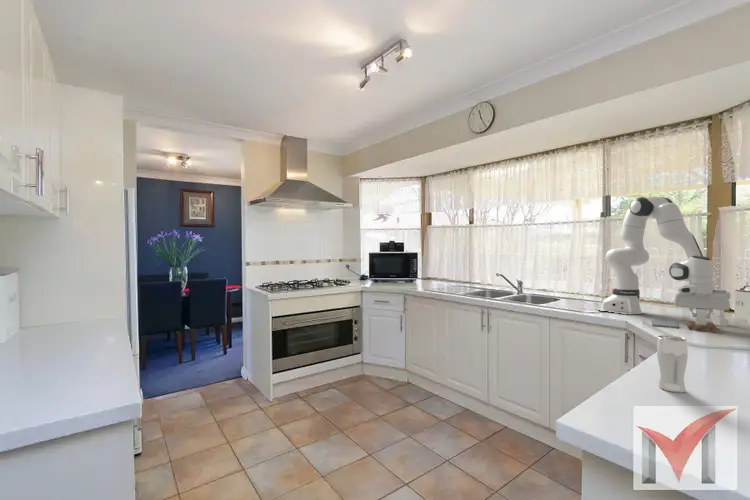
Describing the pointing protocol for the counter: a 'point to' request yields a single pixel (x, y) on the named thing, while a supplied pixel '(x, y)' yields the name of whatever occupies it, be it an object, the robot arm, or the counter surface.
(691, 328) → the header collar
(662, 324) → the slate pad
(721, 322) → the white wedge bracket
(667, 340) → the beer glass
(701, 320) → the plug
